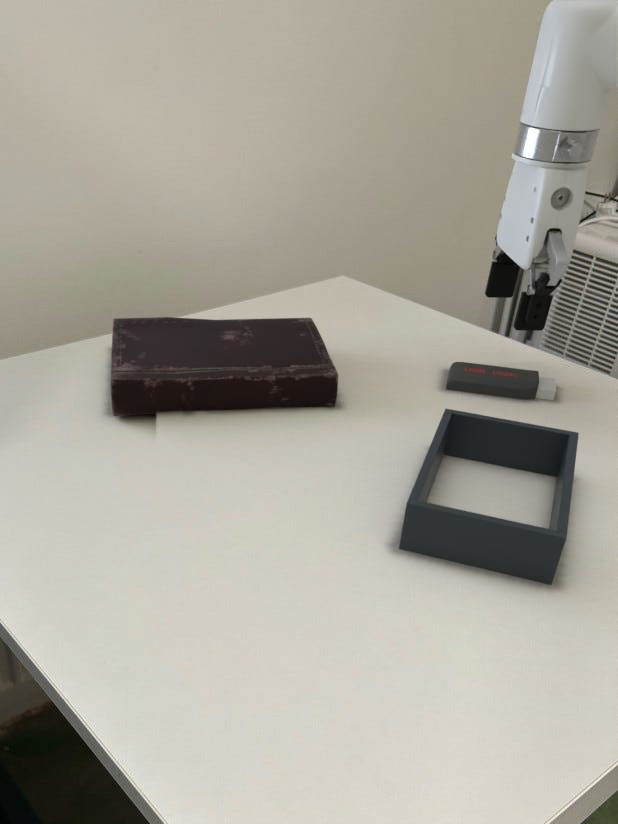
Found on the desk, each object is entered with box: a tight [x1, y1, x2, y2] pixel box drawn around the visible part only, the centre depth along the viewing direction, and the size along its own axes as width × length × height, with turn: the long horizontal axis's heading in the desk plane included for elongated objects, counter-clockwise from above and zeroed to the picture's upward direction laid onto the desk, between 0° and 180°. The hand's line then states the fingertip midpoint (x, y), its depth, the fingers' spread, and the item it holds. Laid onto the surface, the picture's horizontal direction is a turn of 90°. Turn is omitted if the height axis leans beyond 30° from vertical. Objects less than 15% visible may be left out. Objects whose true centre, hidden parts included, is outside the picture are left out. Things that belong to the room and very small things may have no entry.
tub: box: [398, 408, 579, 586], centre depth 75 cm, size 19×13×6 cm
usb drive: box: [445, 361, 557, 401], centre depth 97 cm, size 5×12×3 cm, turn 73°
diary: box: [110, 316, 339, 417], centre depth 98 cm, size 19×25×5 cm
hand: (512, 312), depth 92 cm, fingers open, 9 cm apart
